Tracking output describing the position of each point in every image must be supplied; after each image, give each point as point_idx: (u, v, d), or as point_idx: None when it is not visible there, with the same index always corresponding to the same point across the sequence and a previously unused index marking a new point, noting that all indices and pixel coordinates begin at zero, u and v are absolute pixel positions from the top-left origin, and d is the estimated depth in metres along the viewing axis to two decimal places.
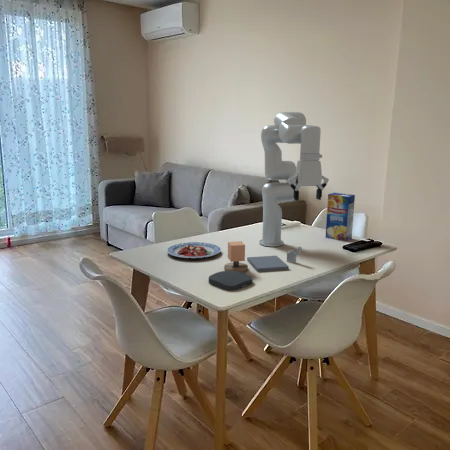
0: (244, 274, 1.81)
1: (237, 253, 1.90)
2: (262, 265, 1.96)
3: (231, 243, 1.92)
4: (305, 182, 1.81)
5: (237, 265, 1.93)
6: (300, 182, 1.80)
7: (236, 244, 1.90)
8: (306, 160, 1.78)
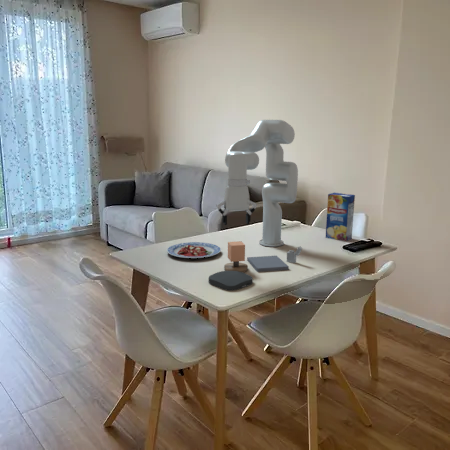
0: (244, 274, 1.81)
1: (237, 253, 1.90)
2: (262, 265, 1.96)
3: (231, 243, 1.92)
4: (232, 207, 1.85)
5: (237, 265, 1.93)
6: (227, 207, 1.85)
7: (236, 244, 1.90)
8: (232, 186, 1.83)
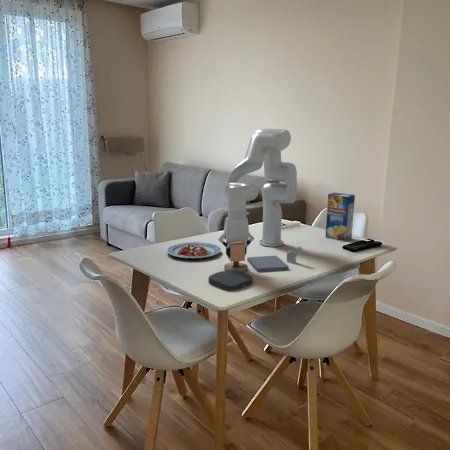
0: (244, 274, 1.81)
1: (237, 253, 1.90)
2: (262, 265, 1.96)
3: (231, 243, 1.92)
4: (232, 238, 1.89)
5: (237, 265, 1.93)
6: (227, 238, 1.88)
7: (236, 244, 1.90)
8: (232, 218, 1.86)
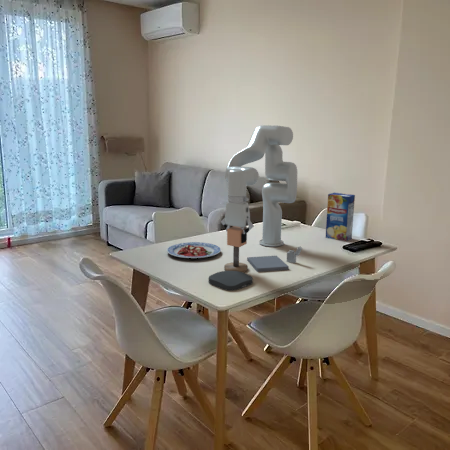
0: (244, 274, 1.81)
1: (232, 238, 1.89)
2: (262, 265, 1.96)
3: (233, 227, 1.92)
4: (229, 222, 1.89)
5: (237, 265, 1.93)
6: (225, 221, 1.91)
7: (234, 229, 1.90)
8: (228, 202, 1.87)
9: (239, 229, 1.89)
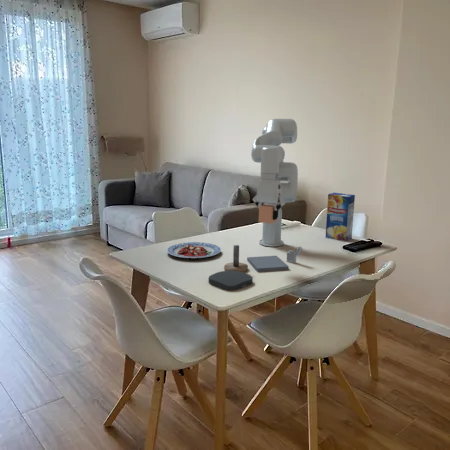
0: (244, 274, 1.81)
1: (264, 214, 1.93)
2: (262, 265, 1.96)
3: (264, 204, 1.96)
4: (261, 199, 1.93)
5: (237, 265, 1.93)
6: (257, 198, 1.94)
7: (266, 206, 1.93)
8: (261, 179, 1.91)
9: (271, 206, 1.93)
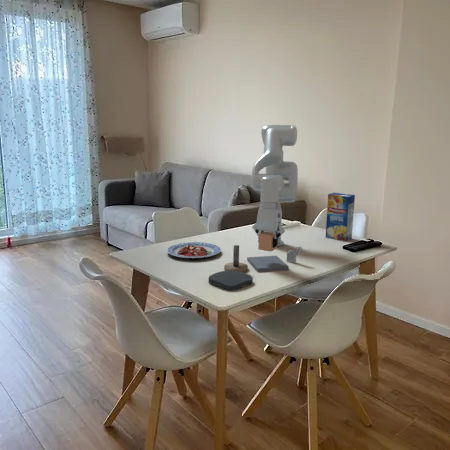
0: (244, 274, 1.81)
1: (264, 242, 1.95)
2: (262, 265, 1.96)
3: (264, 232, 1.98)
4: (261, 227, 1.96)
5: (237, 265, 1.93)
6: (257, 226, 1.97)
7: (265, 234, 1.96)
8: (260, 207, 1.94)
9: (270, 234, 1.96)
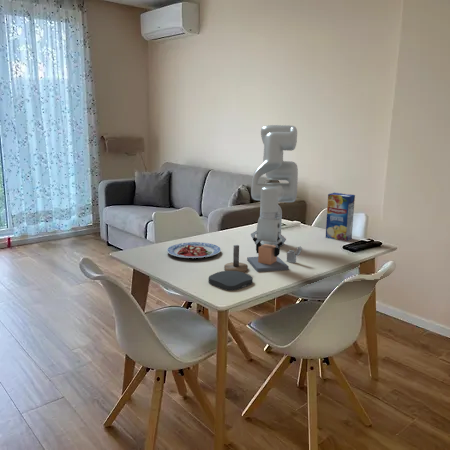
0: (244, 274, 1.81)
1: (263, 255, 1.97)
2: (262, 265, 1.96)
3: (264, 245, 2.00)
4: (261, 237, 1.97)
5: (237, 265, 1.93)
6: (257, 236, 1.98)
7: (265, 247, 1.98)
8: (260, 217, 1.95)
9: (270, 247, 1.97)
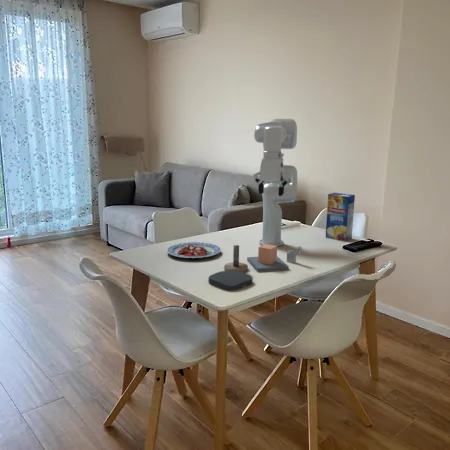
0: (244, 274, 1.81)
1: (263, 255, 1.97)
2: (262, 265, 1.96)
3: (264, 245, 2.00)
4: (264, 177, 1.99)
5: (237, 265, 1.93)
6: (260, 177, 2.00)
7: (265, 247, 1.98)
8: (264, 157, 1.96)
9: (270, 247, 1.97)
